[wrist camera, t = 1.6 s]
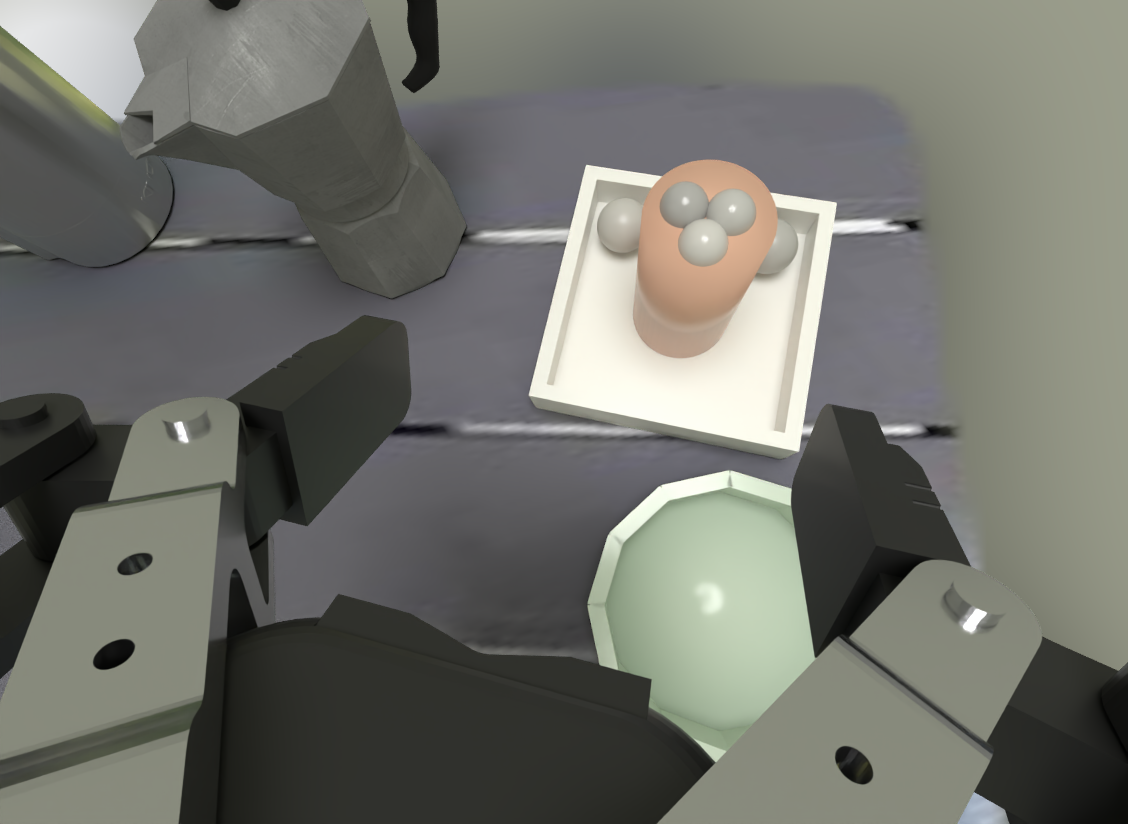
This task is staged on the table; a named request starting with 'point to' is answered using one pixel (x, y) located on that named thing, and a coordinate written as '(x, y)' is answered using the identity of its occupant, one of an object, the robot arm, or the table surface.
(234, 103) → the coffeepot
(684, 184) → the pebble pot
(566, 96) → the table surface
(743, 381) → the parts tray
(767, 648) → the sage bowl
